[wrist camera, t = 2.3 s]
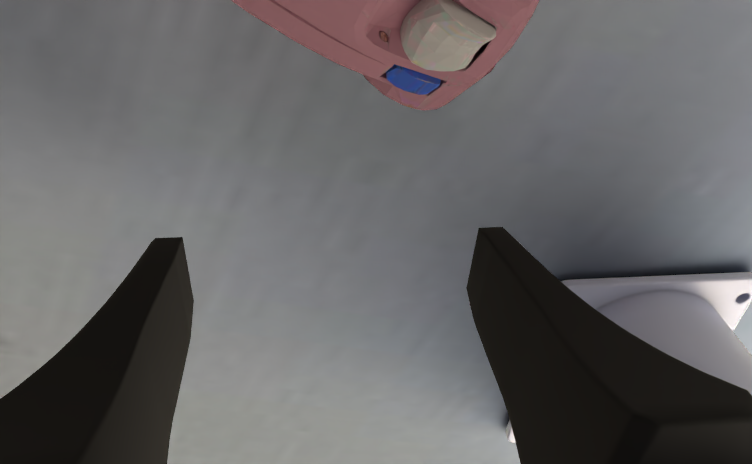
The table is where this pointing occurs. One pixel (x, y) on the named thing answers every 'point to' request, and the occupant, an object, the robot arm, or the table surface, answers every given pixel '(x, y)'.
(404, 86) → the video game controller
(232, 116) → the table surface
